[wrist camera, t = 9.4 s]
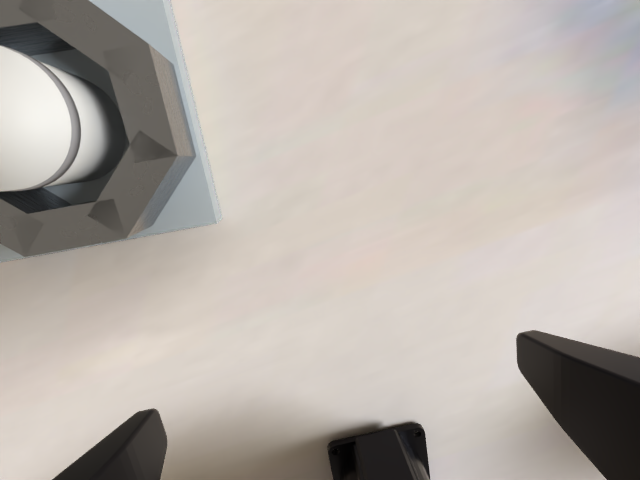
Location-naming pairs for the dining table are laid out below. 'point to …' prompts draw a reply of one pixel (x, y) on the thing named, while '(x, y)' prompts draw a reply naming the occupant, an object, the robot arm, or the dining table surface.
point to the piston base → (199, 173)
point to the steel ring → (138, 117)
